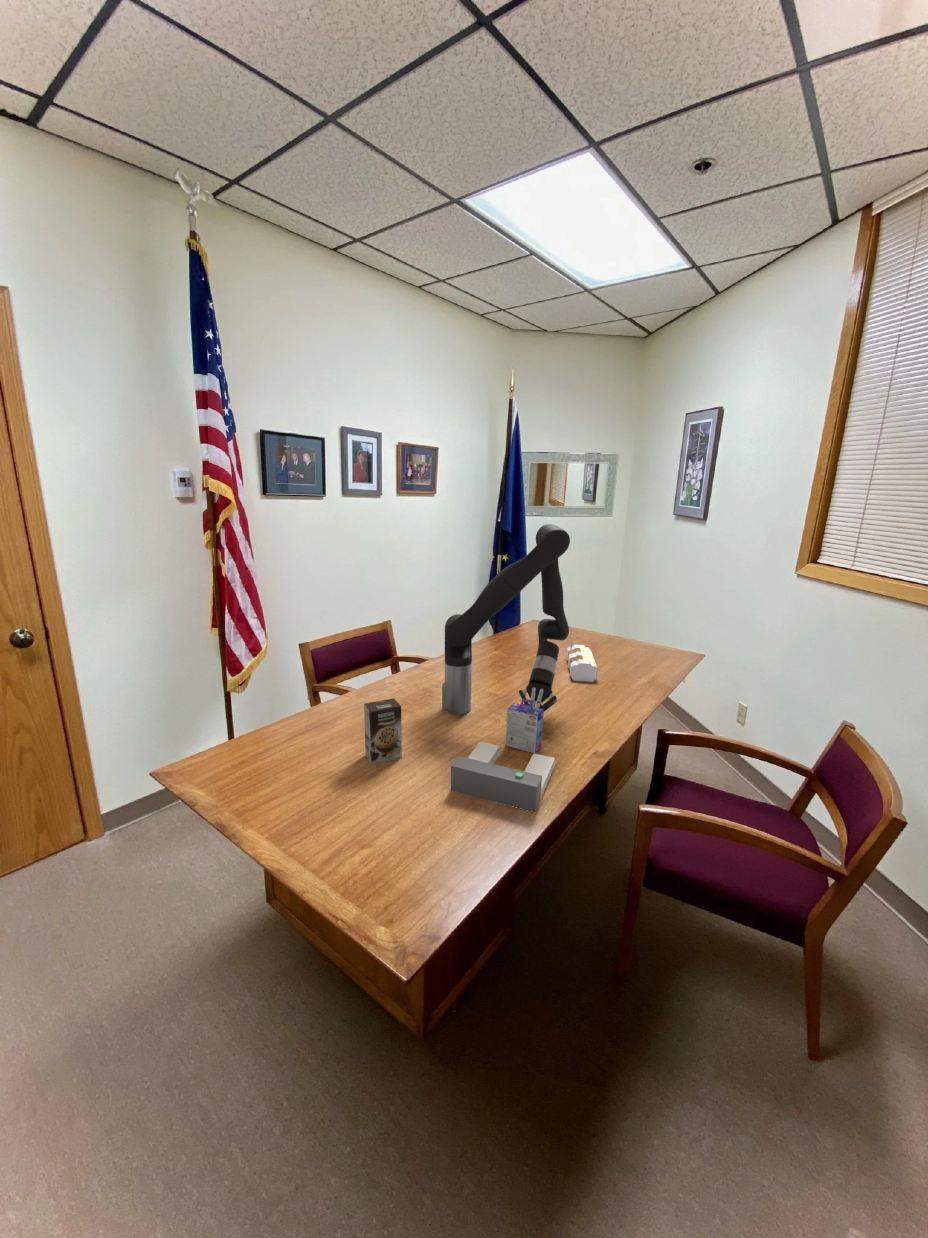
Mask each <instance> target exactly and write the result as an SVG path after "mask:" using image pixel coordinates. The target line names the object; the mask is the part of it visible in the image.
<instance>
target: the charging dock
mask: <svg viewBox="0 0 928 1238" xmlns="http://www.w3.org/2000/svg"><path fill="white" fill-rule="evenodd" d="M500 749H501V748H500V745H498V744H497V745H496V744H493V743H488V742H484V741H479V742H478V743H477V745H476V746H475V748H474V749H473V750H472V751H471V753H470V754H469V755H468V757H464V756H457V758H456V759H455V760H454V762H453V763H452V764H451V765H450V791H452V792H455V793H460V794H463V795H466V796H471V797H474V798H478V799H482V800H486V801H489V802H493V803H496V802H497V804H500V803H501V805H504V804H505V806H508V805H509V807H511V806H514V807H513V808H515V807H517V808H516V809H519V808H522V809H521V810H523V809H524V810H523V811H526V810H528V811H527V812H530V811H533V812H532V813H534V812H535V813H536V812H537V810H538V808H537V807H539V804H540V803H539V802H541V801H542V798H543V796H542V795H544V793H545V791H546V789H545V788H547V786H548V784H549V782H548V781H550V779H551V777H552V775H551V773H552V774H553V772H554V770H553V769H555V765H556V764H555V763H556V758H555V757H552V756H547V755H543V754H537V753H533V754H532V756H531V758H530V760H529V762H528V763H527V765H526V767H525V769H524V771H522V770H519V769H515V768H511V767H507V766H502V765H497V764H495V763H496V761H497V759H498V758H499V757H500ZM552 771H553V772H552ZM550 776H551V777H550ZM547 783H548V784H547ZM544 790H545V791H544ZM541 797H542V798H541ZM540 800H541V801H540Z"/></svg>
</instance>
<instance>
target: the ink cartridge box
mask: <svg viewBox="0 0 928 1238" xmlns="http://www.w3.org/2000/svg"><path fill="white" fill-rule="evenodd" d="M524 702H528V703H529V704H531V705H526V704H524ZM532 706H533V701H532V700H531V699H529V698H526V699H524V698H521V700H520V703H516V702H513V703H512V704H511V705H510V706H509V707H508V708H507V709H506V723H505V724H506V726H505V727H506V729H505V743H504V746H506V747H510V748H514V749H516V750H521V751H525V752H529V753H533V754H537V752H538V751H539V750H540V749H541V748H542V744H543V728H544V727H543V726H544V714H545V713H544V712H545V711H544V709H540V708H535V707H532Z"/></svg>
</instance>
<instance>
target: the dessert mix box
mask: <svg viewBox="0 0 928 1238" xmlns="http://www.w3.org/2000/svg"><path fill="white" fill-rule="evenodd" d="M363 706H364V707H363V709H364V711H363V713H364V750H365V751H364V752H365V753H364V754H365V756H366V758H367V759H368V761H369V764H370V765H372V766H373V765H377V764H382V763H385V762H389V761H394V760H397V759H398V760H399V759H402V758H403V753H402V751H403V748H402V745H403V744H402V743H403V742H402V730H403V729H402V705H401V704H400V703H399V702H398V701H397V700H396V699H395V698H394V697H393V698H388V699H383V700H378V701H377V700H376V701H372V702H366V703H364V704H363Z"/></svg>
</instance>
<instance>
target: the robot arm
mask: <svg viewBox="0 0 928 1238" xmlns="http://www.w3.org/2000/svg"><path fill="white" fill-rule="evenodd" d="M570 537H571V536H570V535H569V532H567V531H566V530H564V529H563V528H561V527H559V526H558V525H555V524H553V523H547V524H543V525H542V526H541V527H540V528H538V530H537V532H536V534H535V544H536V545H535V546H534V548H532V550H531V551H529V553H527V554H526V555H525V556H524V557H522V558H521V559H519V560H517V561H515V562H513V563H511V564H510V565H508V566H506V567H505V568H503V569H502V570H500V571H499V572H498V573H497V574H496V575H495V576H494V577H493V578H492V579H491V580H490V581H488V583H487V584H486V586H485V587H484V588H483V590H482V591H481V593H480V594H479V595H478V597H477V599H476V600H475V601H474V603H472V604H471V606H470V607H469V608H468V609H467V610H466V611H465V612H463V613H462V614H459V613H458V614H457V613H456V614H452V615H451V616H449V618H448V619H446V621H445V624H444V682H443V683H442V687H441V689H442V690H441V693H442V696H441V697H442V698H441V702H442V703H441V710H442V711H445V712H447V713H449V714H450V715H451V714H452V715H463V714H467V713H469V712H470V711H471V710H472V709H471V708H472V707H471V706H472V675H473V674H472V672H473V671H472V670H473V668H472V667H473V666H472V663H473V651H472V648H473V646H472V641H473V639H474V637H475V636H476V635H477V634H478V632H479V631H480V630H481V629H482V628H483V627H484V626H485V624H487V622H489V621H490V619H493V617H494V616H495V615H497V614H498V613H499V612H500V611H501V610H503V608H504V607H505V606H507V605H508V604H509V603H510V602H511V601H513V599H514V598H516V596H517V595H518V594H520V593H521V592H522V590H523V589H524V588H526V587H527V586H528V585H529V584H530V583H531V582H533V580H534V579H535V578H536V577H537V576H538V575H539V574H541V576H540V577H541V603H542V604H541V605H542V608H541V609H542V612H543V614H545V615H546V616H550V617H553V619H552V618H543V619H541V620H540V621H539V623H538V625H537V634H538V636H537V637H538V645H537V651H536V656H535V659H534V662H533V664H532V668H531V669H532V670H531V672H530V677H529V681H528V684H527V685H526V687H525V689H523V690H522V689H520V690H518V693H519V696H520V698H521V699H522V698H524V699H527V698H526V697H527V694H528V697H529V700H532V701H533V706H532V707H535V708H540V709H544V712H546V711H547V710H549V709H550V707H552V706H553V705H554V704H556V703H557V702H558V698H557V695H555V694H553V683H554V680H555V675H556V670H557V663H558V658H559V653H560V647H559V646H558V644H556V643H554V642H552V641H549V640H553V641H565V640H566V639H567V638H568V636H569V634H570V627H569V624H568V623H569V622H568V620H567V618H566V614H565V609H564V608H565V607H564V589H563V582H562V578H561V572H560V567H559V558H560V557H562V556H563V555H564V554H565V552H566V551H567V550H568V548H569V547H570V543H571V538H570ZM547 699H548V700H547ZM546 700H547V701H546ZM523 704H526V705H531V704H530V703H529V702H523Z"/></svg>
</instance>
